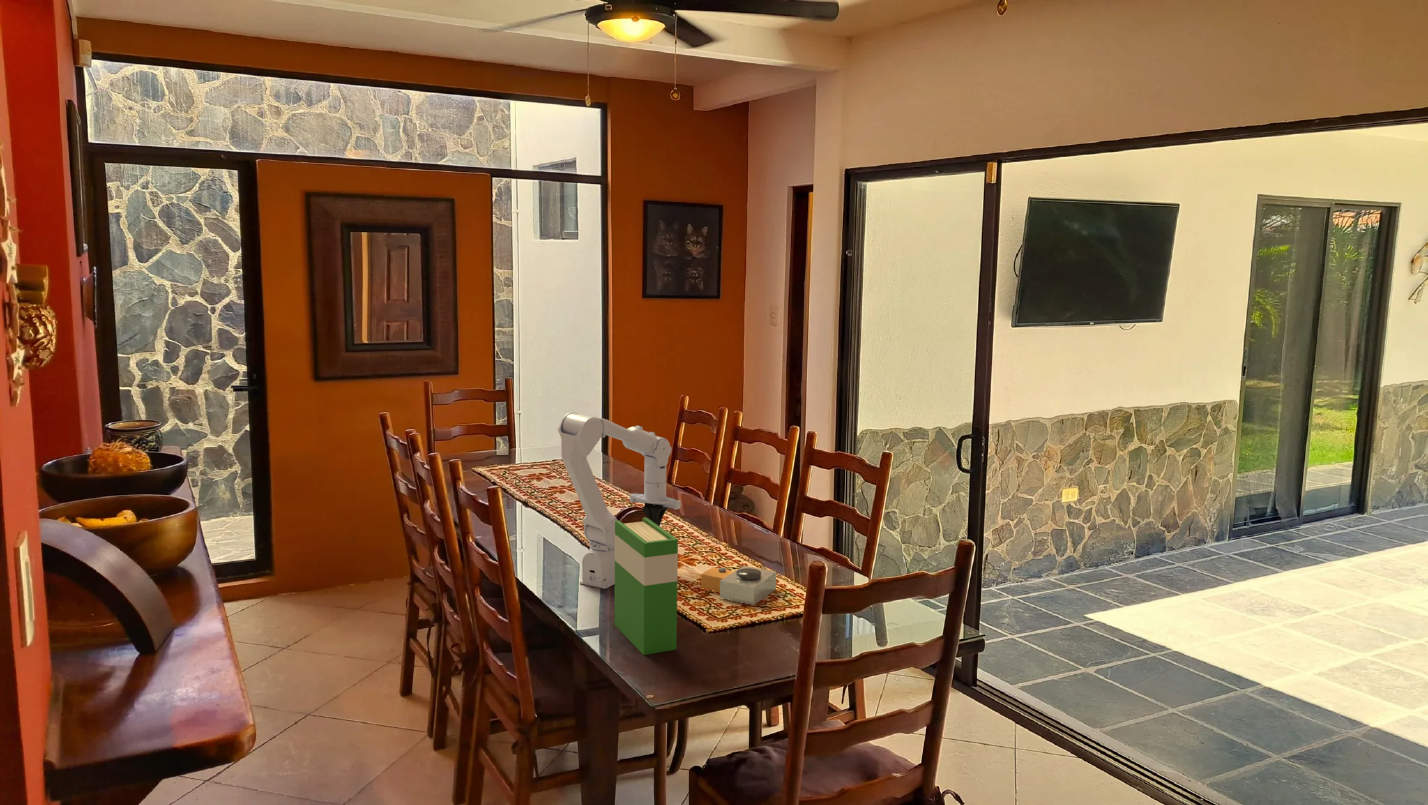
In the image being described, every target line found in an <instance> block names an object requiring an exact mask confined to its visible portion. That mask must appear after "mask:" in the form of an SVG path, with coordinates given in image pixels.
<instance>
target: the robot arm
mask: <svg viewBox="0 0 1428 805" xmlns="http://www.w3.org/2000/svg"><path fill="white" fill-rule="evenodd" d="M557 432H558V434H559V436H560V440H561V441H560V443H561V445H560V446H561V448H560V449H561V459H562V463H563V464H564V467H565V470H566V471H567V474H568V476H569V478H570V481H571V483H572V486H573V488H574V490H575V492H576V495H577V498H578V500H579V502H580V505H581V507H582V510H583V511H584V514H585V516H584V517H583V518H582V520H581V522H582V523H583V532H584V536H585V539H586V540H588V545H589V546H590V547H589V550H588V552H586V554H585V555H583V557H582V562H581V563H582V566H581V567H582V569H581V570H582V572H581V573H582V574H581V575H582V576H581V577H582V578H581V580H580V581H579V584H582V585H586V586H589V587H590V586H591V587H595V588H599V589H605V590H606V589H608V588H610V587H612V586H613V585H614V586H615V521H618V519H617V517H616V516H615V515H613V513H612V512H611V511H610V510H609V509H608V507H607V505H606V502H605V500H604V498H603V496H602V493H601V491H600V490H601V489H600V488H599V485H598V483H597V480H596V478H595V476H594V473H593V471H592V468H591V466H590V464H589V461H588V459H587V458H588V456H589V455H590V454H591V452H593V450H594V448H595V447H596V445H597V444H598V443H599V441H600V440H601V438H606V436H608V437H611V438H613V439H616V440H619V441H622V444H623V446H624V447H625V448H626V449H627V450H632V451H633V452H636V453H638V454H641V455H642V456H643V457H644V471H643V472H644V480H643V486H644V489H643V492H644V493H631V494H629V502H630V503H638V504H639V503H640V504H644V505H643V506H642V507H641V509H642V512H643V513H644V515H645V518H648V519H649V520H651V521H652V522H654V523H655V524H657V525H658V526H659V527H661V523H662V521H663V518H664V516H665V513H666V511H667V510H668V508H671V509H673V510H679V509H681V508H682V500H677V499H675V498H672V497H668V496H667V466H668V463H669V459H670V458H669V457H670V456H671V454H672V450H673V447H672V446H671V444H670V441H668V439H667V438H665V437H662V436H657V435H656V433H655V432H653V431H646V430H644V429H643V426H640V425H635V426H631V427H628V428H626V427H624V426H621V425H619V424H617V423H616V422H612V421H610V420H609V419H605V418H603V417H601V418H600V417H596V416H593V415H592V416H591V415H587V414H579V413H577V412H573V411H571V412H568V413H566V414H565V415H564V416H563V418H562V419H561V421H560V424H559V427H558V429H557Z"/></svg>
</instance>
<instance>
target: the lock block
mask: <svg viewBox="0 0 1428 805" xmlns="http://www.w3.org/2000/svg"><path fill="white" fill-rule="evenodd" d="M733 572H735V571H734V570H733V571H732V570H728V569H726V567H725V568H724V567H719V568H717V567H711V568H709V569H707V570H706V571H704V572H703V573H701V574H700V576H701V577H700V579H701V580H700V589H701V588H704V589H708V590H714V591H717V592H720V581H721V580H722V579H724V578H725V577H727V576H729V575H730V574H732V573H733Z"/></svg>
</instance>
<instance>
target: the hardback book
mask: <svg viewBox="0 0 1428 805" xmlns="http://www.w3.org/2000/svg"><path fill="white" fill-rule="evenodd" d="M678 564H679V539H678V538H677V537H676V536H674V535H673V534H671V533H669V531H667V530H665V529H664V528H662V527H661V526H660V527H659V526H658V525H657V524H655V523H654V522H652V521H651V520H649V519H648V518H647V517H642V521H635V522H628V523H623V522H622V521H620V520H618V519H617V521H615V584H614V614H613V615H614V620H613V621H614V626H615V627H616V628H617V629H618V630H619V631H620V632H621V633H622V634H623V635H624V636H625V638H627V640H629V641H630V643H631V644H632V645H633V646H634V647H635V648H636V649H637V650H638V651H639V652H640V653H641V654H642V655H643V656H646V655H652V654H659V653H663V652H668V651H669V652H670V651H675V650H677V633H678V630H677V629H678V627H677V626H678V574H679V573H678V568H679V567H678Z"/></svg>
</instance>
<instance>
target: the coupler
mask: <svg viewBox="0 0 1428 805" xmlns="http://www.w3.org/2000/svg"><path fill="white" fill-rule="evenodd" d="M776 589H777V571H775V570H768V569H763V568H757V567H751V566H747V565H743V566H741V567H739V568H738V569H736V570H735V571H734V572H733V573H732V574H730V575H729V576H727V577H725V578H724V579H722V580H721V581H720V593H719V598H720V597H721V598H724V599H729V600H732V601H731V602H733V601H736V602H735V603H738V602H742V603H741V604H743V603H745V604H744V605H748V604H751V605H750V606H753V605H754V604H755V605H756V604H758V603H759V602H760V601H762V600H763V599H764V598H766V597H768V595H770V594H771V593H773V592H774V591H775V590H776ZM724 599H723V600H724ZM729 600H728V601H729ZM755 605H754V606H755Z"/></svg>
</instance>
